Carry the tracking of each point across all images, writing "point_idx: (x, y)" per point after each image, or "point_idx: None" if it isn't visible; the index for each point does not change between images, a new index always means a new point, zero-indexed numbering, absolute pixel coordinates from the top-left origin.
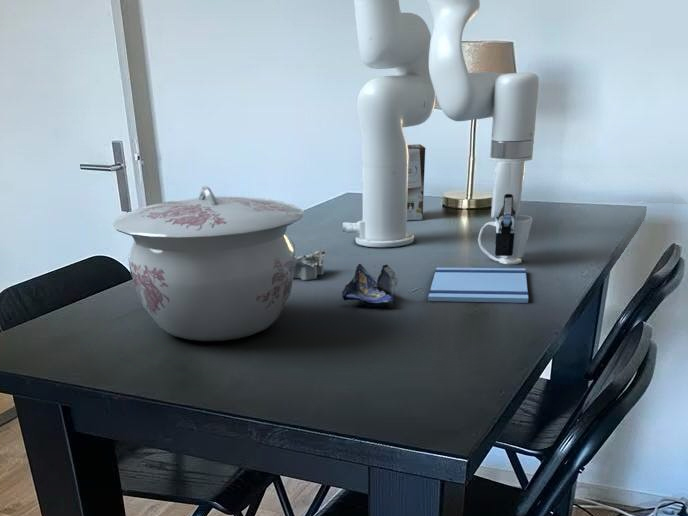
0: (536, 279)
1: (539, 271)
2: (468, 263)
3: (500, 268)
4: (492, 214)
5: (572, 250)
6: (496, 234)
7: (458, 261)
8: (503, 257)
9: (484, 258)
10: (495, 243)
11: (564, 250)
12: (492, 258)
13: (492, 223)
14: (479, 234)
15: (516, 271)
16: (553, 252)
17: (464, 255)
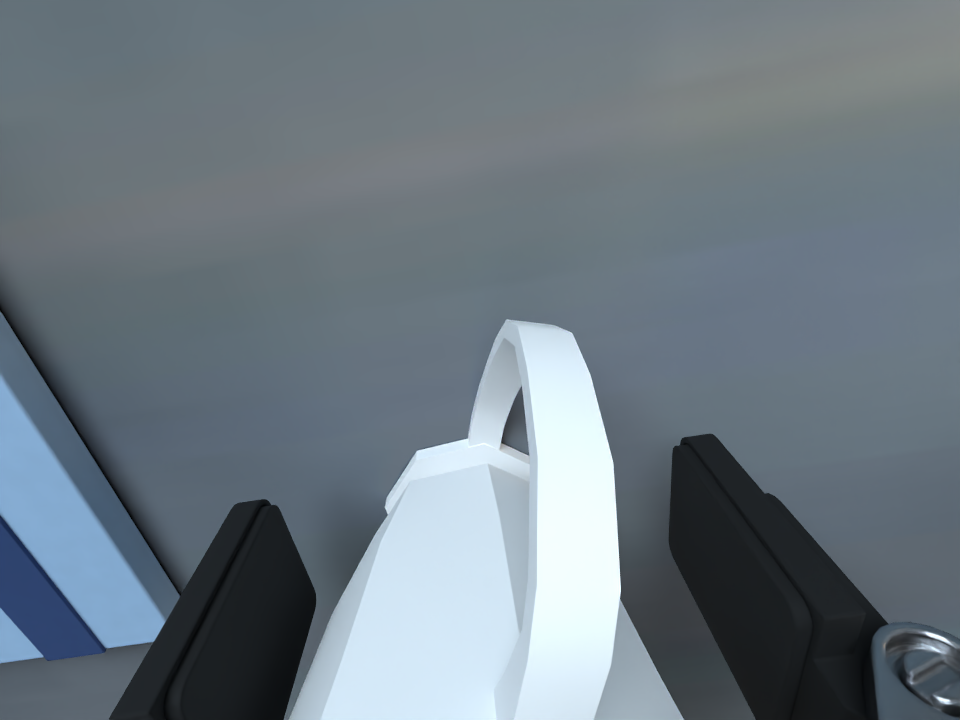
0: (73, 671)
1: None
2: (332, 206)
3: (87, 522)
4: None
5: None
6: (742, 511)
7: (391, 75)
8: (394, 505)
9: (564, 315)
10: (689, 443)
11: None
12: (475, 401)
13: (511, 701)
14: (526, 379)
15: (41, 619)
16: None
17: (689, 89)
